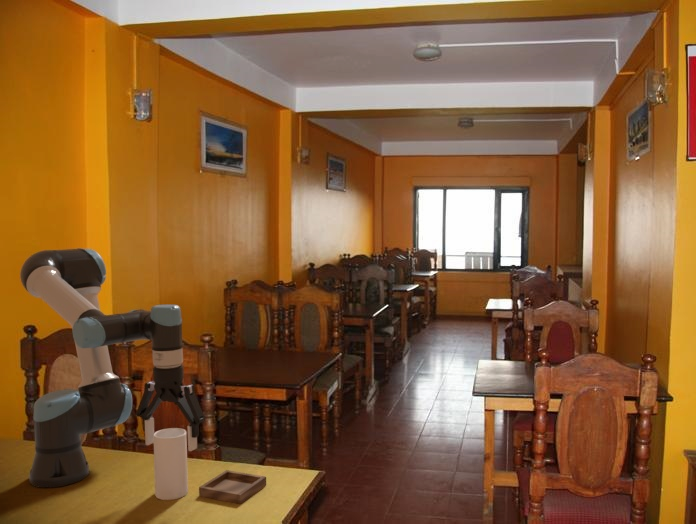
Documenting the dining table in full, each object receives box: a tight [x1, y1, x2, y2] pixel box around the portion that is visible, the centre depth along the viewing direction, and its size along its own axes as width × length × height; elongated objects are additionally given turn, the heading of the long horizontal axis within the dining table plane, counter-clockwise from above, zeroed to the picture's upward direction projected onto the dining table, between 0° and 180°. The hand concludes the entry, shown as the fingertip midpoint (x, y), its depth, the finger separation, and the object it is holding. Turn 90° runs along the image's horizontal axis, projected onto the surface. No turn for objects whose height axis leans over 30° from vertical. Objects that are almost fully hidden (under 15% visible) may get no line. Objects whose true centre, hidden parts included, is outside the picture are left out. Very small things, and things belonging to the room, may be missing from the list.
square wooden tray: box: [198, 469, 267, 505], centre depth 171 cm, size 12×12×2 cm
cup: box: [153, 427, 189, 501], centre depth 170 cm, size 8×8×16 cm
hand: (171, 446), depth 169 cm, fingers open, 13 cm apart
